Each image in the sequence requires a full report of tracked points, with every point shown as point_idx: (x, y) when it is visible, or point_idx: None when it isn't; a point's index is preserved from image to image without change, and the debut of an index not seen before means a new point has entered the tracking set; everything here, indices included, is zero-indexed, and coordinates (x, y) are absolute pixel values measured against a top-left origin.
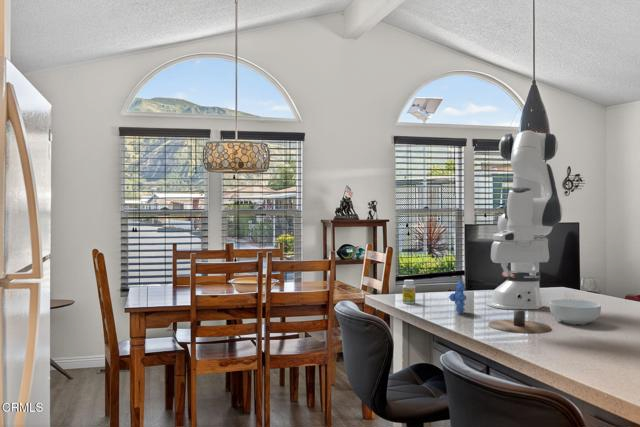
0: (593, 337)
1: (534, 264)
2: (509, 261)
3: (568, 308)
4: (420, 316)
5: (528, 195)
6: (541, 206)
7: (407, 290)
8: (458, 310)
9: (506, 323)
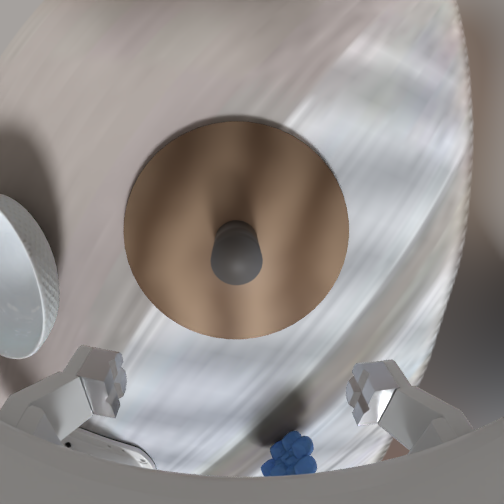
0: (100, 33)
1: (50, 434)
2: (464, 445)
3: (20, 228)
4: None
5: None
6: None
7: None
8: (301, 436)
9: (262, 283)
